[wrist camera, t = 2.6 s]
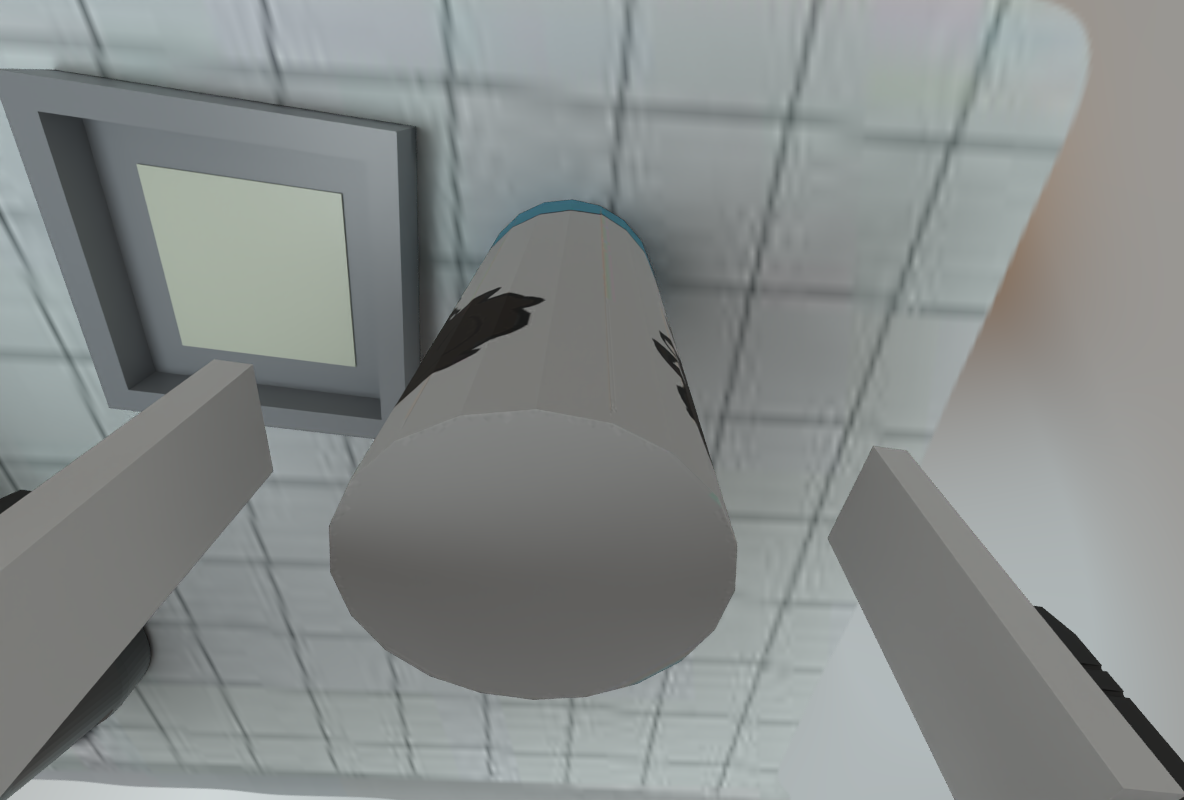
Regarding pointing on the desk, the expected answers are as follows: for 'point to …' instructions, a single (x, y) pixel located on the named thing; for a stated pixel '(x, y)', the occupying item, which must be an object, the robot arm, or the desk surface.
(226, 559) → the desk surface
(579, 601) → the cup
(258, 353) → the tray
